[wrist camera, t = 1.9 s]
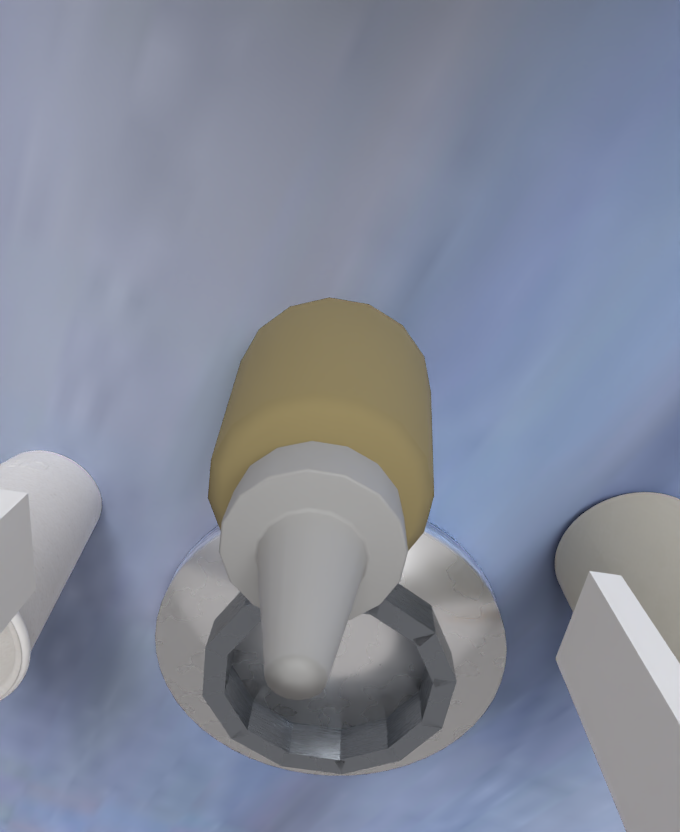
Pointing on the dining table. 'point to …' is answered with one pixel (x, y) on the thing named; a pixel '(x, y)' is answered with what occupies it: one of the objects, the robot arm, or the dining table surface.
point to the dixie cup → (46, 545)
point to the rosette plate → (339, 665)
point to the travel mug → (629, 555)
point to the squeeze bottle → (321, 478)
